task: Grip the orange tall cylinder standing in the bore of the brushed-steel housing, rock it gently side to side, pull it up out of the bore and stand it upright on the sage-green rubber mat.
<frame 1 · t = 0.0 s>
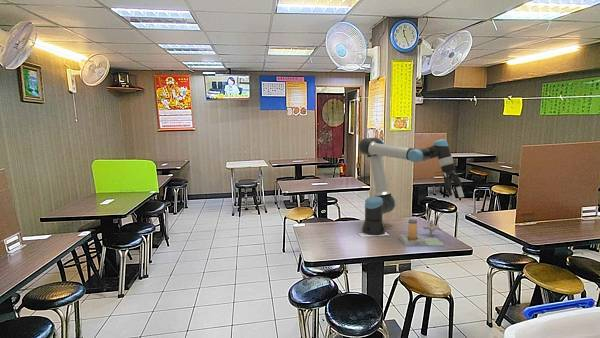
hand: (457, 199, 186), 28 cm above the table, tool tilted 20°, fingers open, 13 cm apart
mat: (432, 242, 192), on the table
orange tall cylinder: (412, 231, 193), in the housing
housing: (412, 242, 193), on the table
pipe connector: (431, 235, 206), on the table
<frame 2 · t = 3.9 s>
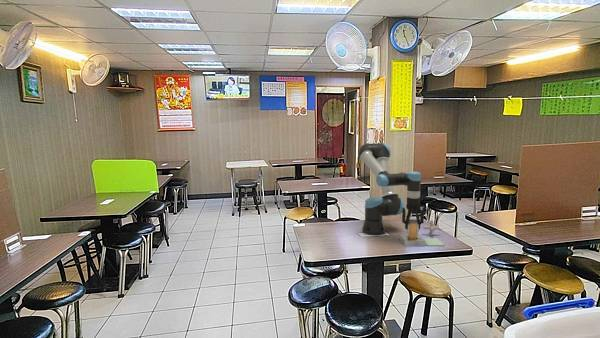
hand: (412, 234, 193), 5 cm above the table, tool pointing down, fingers closed on orange tall cylinder, 5 cm apart
orange tall cylinder: (412, 231, 193), in the housing, touching gripper
everything else where it was.
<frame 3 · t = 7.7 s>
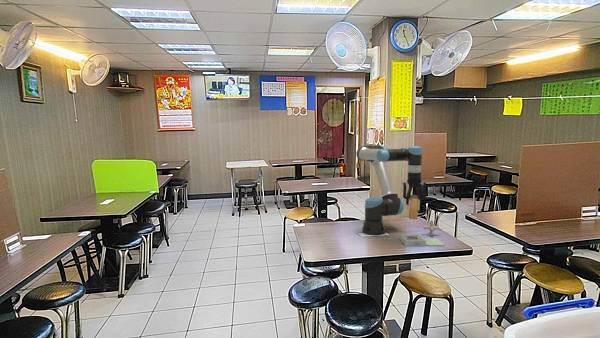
hand: (413, 209, 191), 21 cm above the table, tool pointing down, fingers closed on orange tall cylinder, 5 cm apart
orange tall cylinder: (413, 207, 190), point 22 cm above the table, touching gripper
everything else where it was.
when the fingers open (8 cm above the table, at t = 11.7 s): orange tall cylinder drops 1 cm, resting on mat.
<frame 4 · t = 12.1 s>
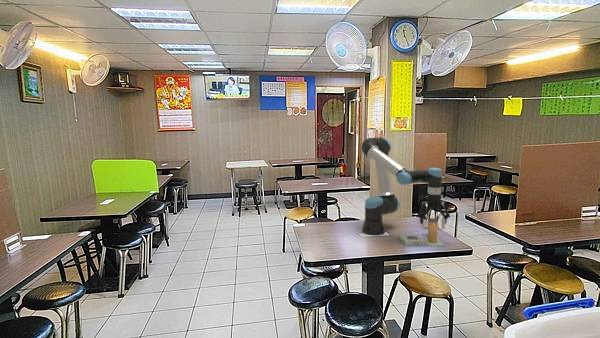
hand: (432, 228, 191), 9 cm above the table, tool pointing down, fingers open, 11 cm apart
orange tall cylinder: (432, 230, 191), on the mat, point 8 cm above the table
everything else where it was.
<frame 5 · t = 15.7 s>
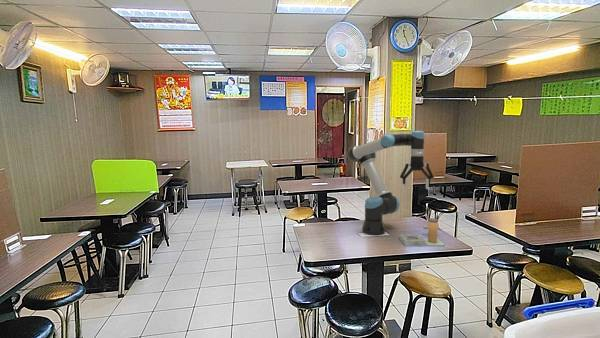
hand: (416, 189, 198), 32 cm above the table, tool pointing down, fingers open, 13 cm apart
nothing on the table moved.
at the end: orange tall cylinder inside the target area on the mat (0.0 cm from its centre), point 7.8 cm above the mat's base; orange tall cylinder tilted 0°; orange tall cylinder touching mat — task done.
